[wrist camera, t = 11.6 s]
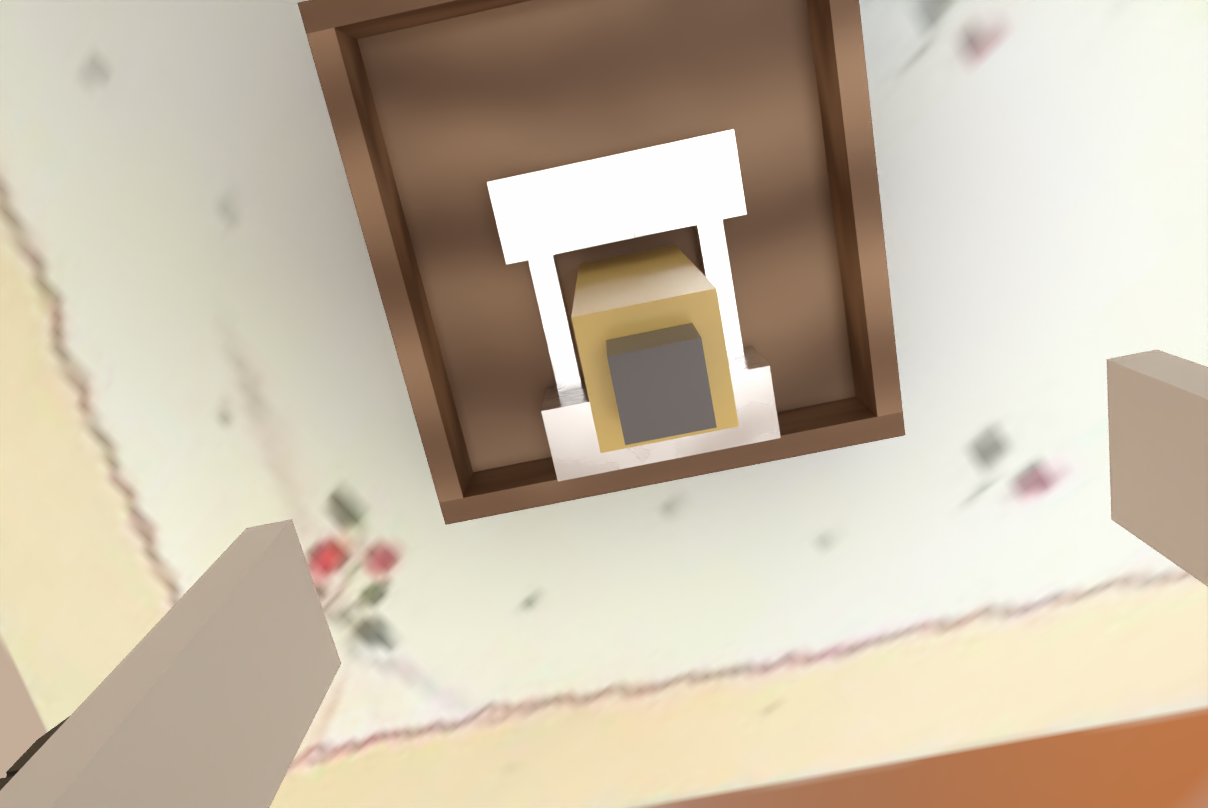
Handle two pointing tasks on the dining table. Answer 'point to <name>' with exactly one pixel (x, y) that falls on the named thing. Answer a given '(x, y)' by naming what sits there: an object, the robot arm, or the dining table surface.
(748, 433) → the inlet
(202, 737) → the robot arm
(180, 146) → the dining table surface
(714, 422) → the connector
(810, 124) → the box
